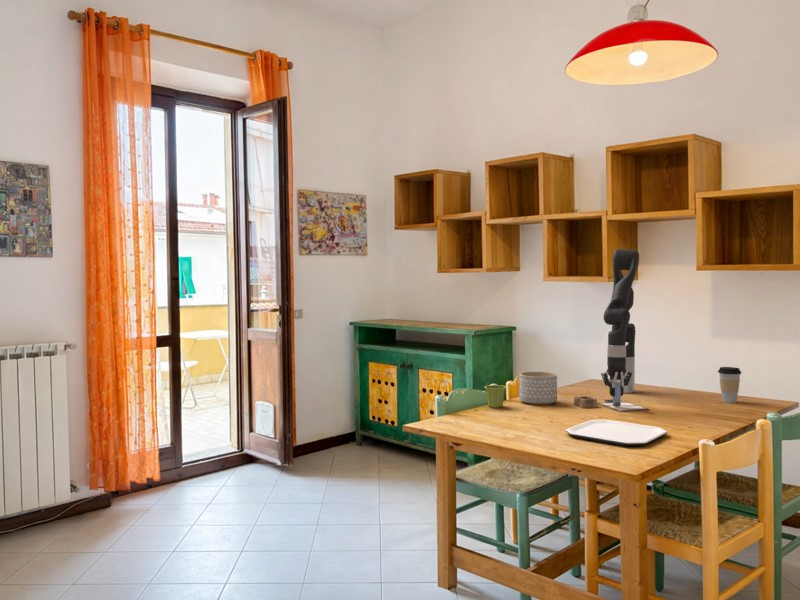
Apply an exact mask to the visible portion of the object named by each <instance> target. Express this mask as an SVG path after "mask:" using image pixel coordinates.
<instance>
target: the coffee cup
mask: <svg viewBox="0 0 800 600" xmlns="http://www.w3.org/2000/svg"><path fill="white" fill-rule="evenodd" d="M717 373H719V385H720V386H719V387H720V393H721V400H722V401H723V402H722V403H729V404H735V403H737V402H738V395H739V390H740V380H741V379H740V377H741V375H742V371H741V369H740V368H739V367H733V366H732V367H731V366H720V367H719V369H718V370H717Z"/></svg>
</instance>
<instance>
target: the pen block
mask: <svg viewBox="0 0 800 600" xmlns="http://www.w3.org/2000/svg"><path fill="white" fill-rule="evenodd" d="M597 403H598V399H597V398H596V397H593V396H589V395H588V396H587V395H586V396H574V397H573V405H574V406H576V407H579V408H581V409H582V408H583V409H586V408H597V407H598V404H597Z"/></svg>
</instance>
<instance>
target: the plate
mask: <svg viewBox="0 0 800 600" xmlns="http://www.w3.org/2000/svg"><path fill="white" fill-rule="evenodd" d="M565 432H567V433H568V434H569V435H570V436H573V437H575V438H578V439H583V440H588V441H593V442H594V441H595V442H601V443H606V444H610V445H611V444H612V445H616V446H617V445H618V446H624V447H639V446H643V445H646V444H649V443H651V442H653V441H654V440H656V439H659V438H660V437H663V436H665V435H667V434H669V433H668V431H667V430H665V429H664V428H661V427H659V426H653V425H646V424H645V425H644V424H640V423H639V424H638V423H633V422H625V421H620V420H612V419H590V420H586V421H585V422H582V423H579V424H576V425H574V426H571V427H568V428H566V429H565Z"/></svg>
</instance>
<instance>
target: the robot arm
mask: <svg viewBox="0 0 800 600" xmlns="http://www.w3.org/2000/svg"><path fill="white" fill-rule="evenodd" d="M639 263H640V254H639V251H638V250H634V249H623V248H619V249H615V250H614V251H613V254H612V271H613V286H612V288H613V289H612V295H611V300H610V302H609V303H608V305H607V307H606V309H605V310H604V312H603V313H604V314H603V321H604V323H605V324H606V325H609V326H611V330H610V331H608V335H607V338H608V339H607V353H606V354H607V361H606V362H607V363H606V364H607V369H606V371H605V372H601V373H600V375H601V377H602V380H603V382H604V385H605V386H606V387H609V395H610V397H613V396H615V388H614V386H615V382H616V380H617V379H621V397H623V396H624V394H631V393H635V389H636V388H635V386H636V383H635V379H636V377H635V374H636V370H635V369H636V367H635V366H636V359H635V358H636V354H635V351H636V350H635V348H636V347H635V345H636V343H635V342H636V326H635V324H634V323H630V319H631V313H630V310H631V309H632V308H633V305H634V303H635V302H634V299H635V298H634V297H635V293H634V289H633V283H634V280H635V278H636V274H637V272H638V268H639V265H640V264H639ZM623 271H628V272H627V273H626V274H625V275H624V274H623ZM626 343H627V344H626ZM612 379H613V380H612Z"/></svg>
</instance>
